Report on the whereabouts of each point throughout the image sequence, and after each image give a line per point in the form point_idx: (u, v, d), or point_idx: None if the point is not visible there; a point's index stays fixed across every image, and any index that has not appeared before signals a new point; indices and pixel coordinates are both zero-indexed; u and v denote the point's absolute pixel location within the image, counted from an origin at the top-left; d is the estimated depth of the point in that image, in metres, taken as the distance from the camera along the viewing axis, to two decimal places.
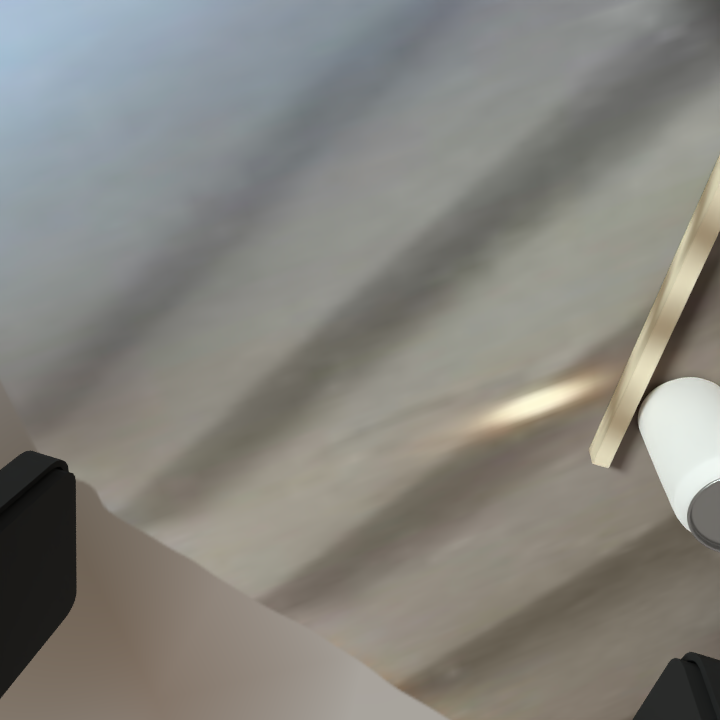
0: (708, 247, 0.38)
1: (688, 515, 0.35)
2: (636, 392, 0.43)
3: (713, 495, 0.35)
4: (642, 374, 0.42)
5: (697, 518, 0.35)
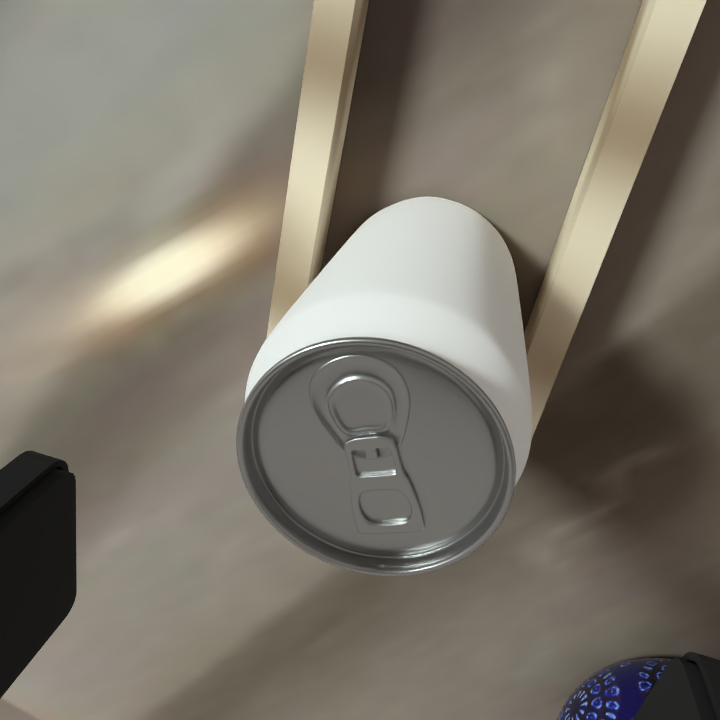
0: None
1: (241, 469, 0.13)
2: (303, 225, 0.21)
3: (294, 412, 0.12)
4: (306, 182, 0.20)
5: (277, 478, 0.13)
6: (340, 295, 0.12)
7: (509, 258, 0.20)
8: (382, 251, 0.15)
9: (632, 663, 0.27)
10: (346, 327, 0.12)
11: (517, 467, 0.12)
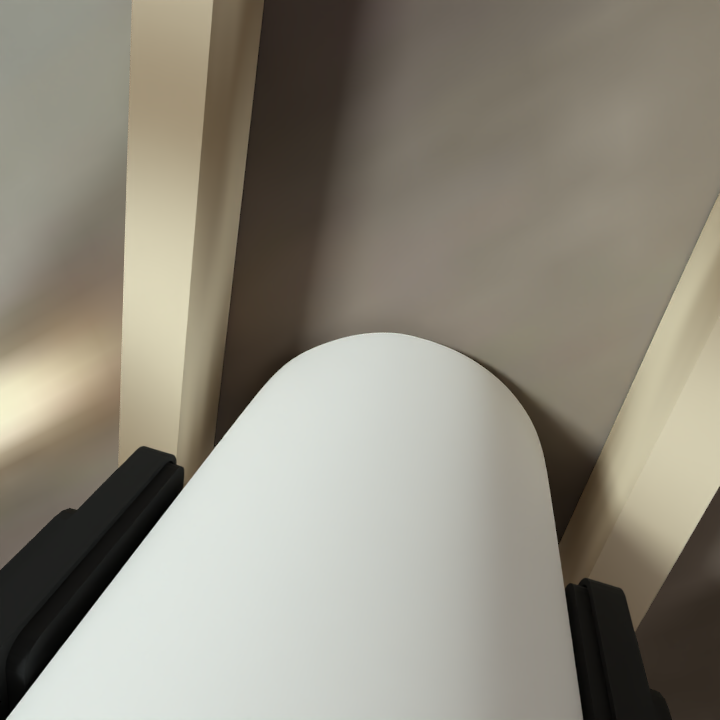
0: None
1: None
2: (157, 387, 0.11)
3: None
4: (154, 314, 0.11)
5: None
6: None
7: (538, 465, 0.10)
8: (210, 632, 0.05)
9: None
10: None
11: None
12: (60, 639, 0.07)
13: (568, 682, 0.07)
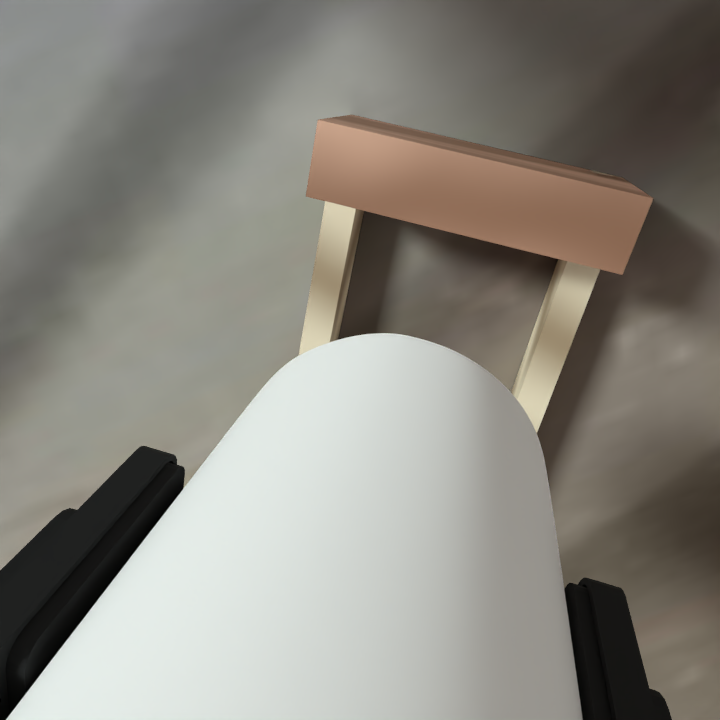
0: (333, 296, 0.24)
1: None
2: None
3: None
4: None
5: None
6: None
7: (538, 466, 0.10)
8: (209, 634, 0.05)
9: None
10: None
11: None
12: (60, 639, 0.07)
13: (568, 684, 0.07)
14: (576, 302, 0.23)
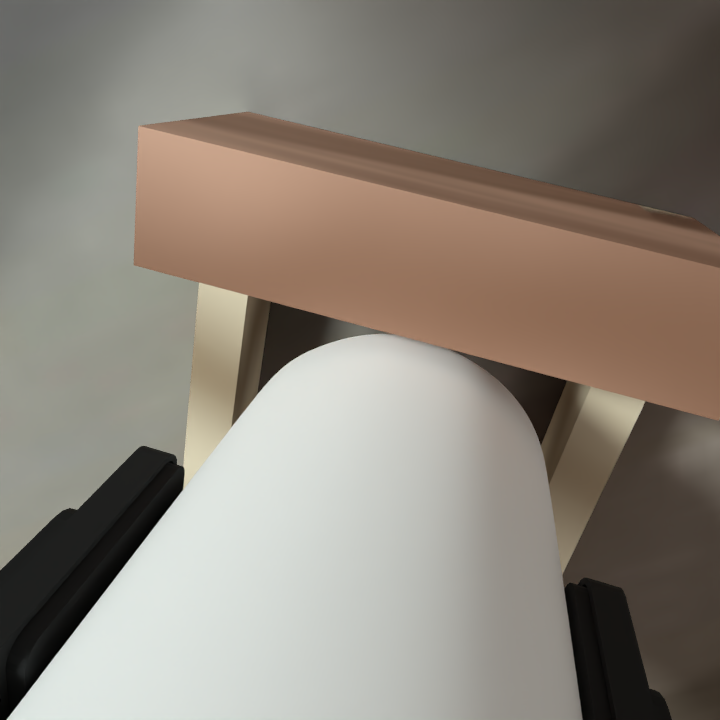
0: (226, 400, 0.15)
1: None
2: None
3: None
4: None
5: None
6: None
7: (538, 466, 0.10)
8: (209, 636, 0.05)
9: None
10: None
11: None
12: (60, 639, 0.07)
13: (568, 685, 0.07)
14: (615, 424, 0.14)
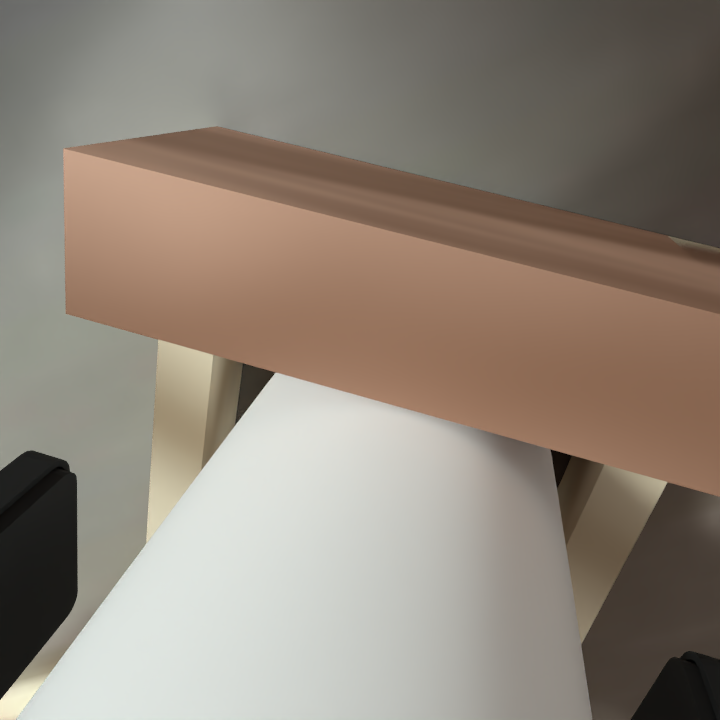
0: (193, 453, 0.14)
1: None
2: None
3: None
4: None
5: None
6: None
7: None
8: (282, 524, 0.06)
9: None
10: None
11: None
12: None
13: (566, 589, 0.08)
14: (640, 491, 0.12)
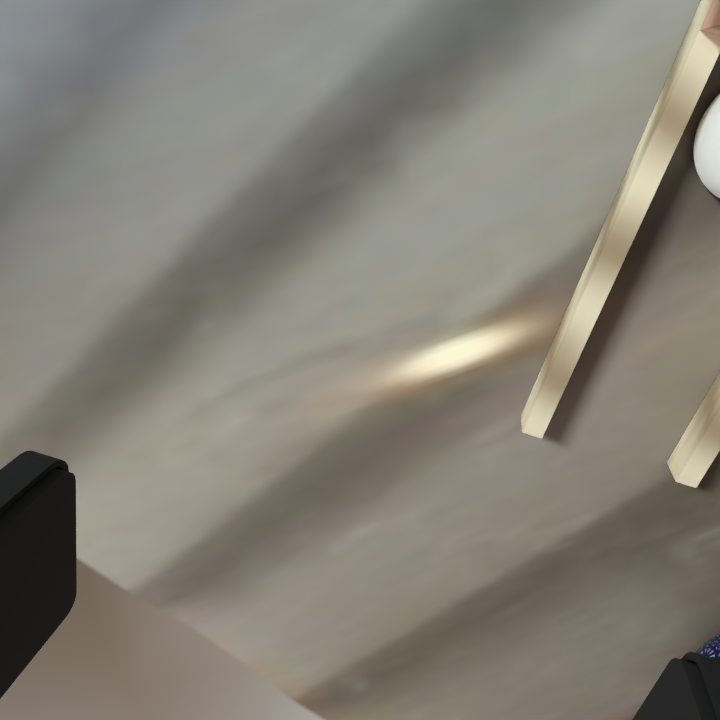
0: (676, 136, 0.28)
1: None
2: (578, 338, 0.33)
3: None
4: (586, 314, 0.33)
5: None
6: None
7: None
8: None
9: None
10: None
11: None
12: None
13: None
14: None
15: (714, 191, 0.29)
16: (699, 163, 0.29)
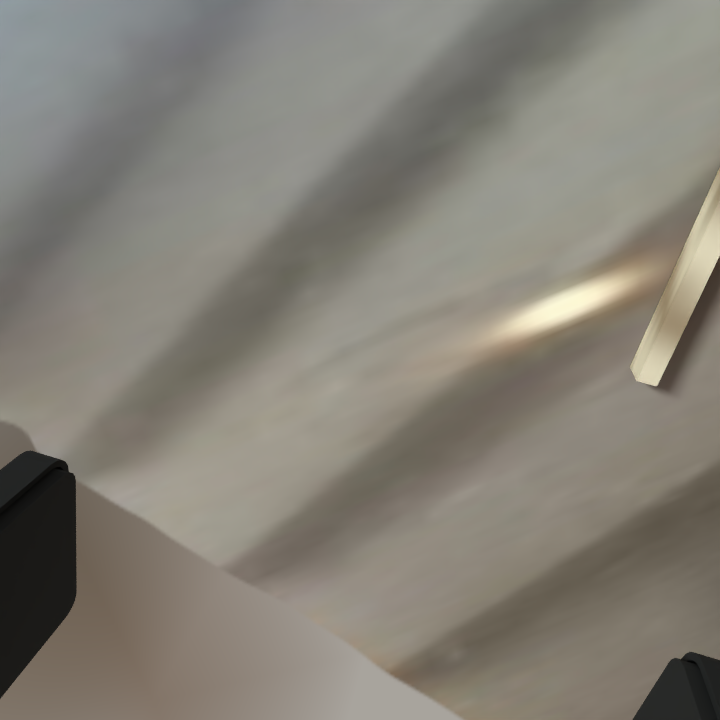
0: None
1: None
2: (697, 281, 0.33)
3: None
4: (706, 255, 0.33)
5: None
6: None
7: None
8: None
9: None
10: None
11: None
12: None
13: None
14: None
15: None
16: None
